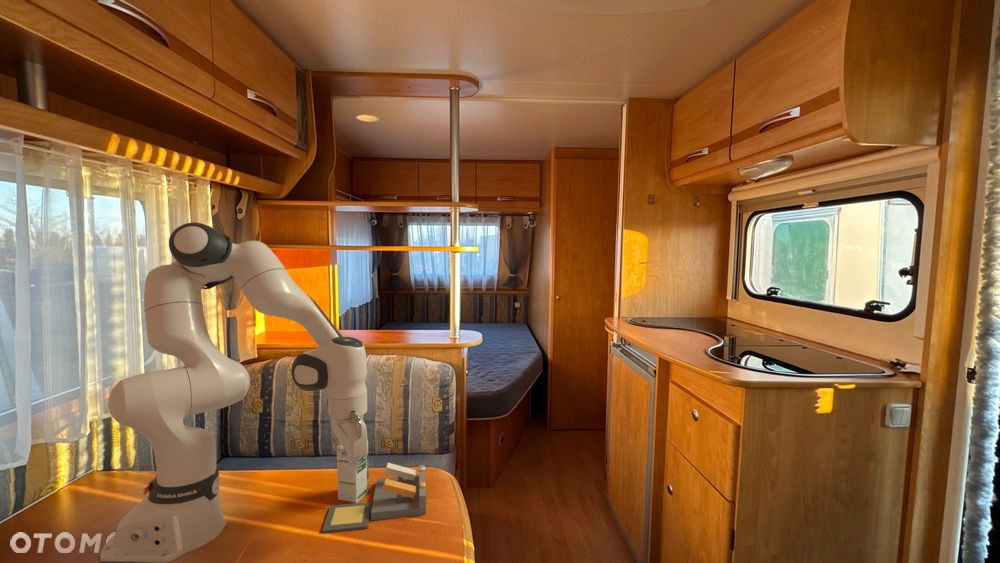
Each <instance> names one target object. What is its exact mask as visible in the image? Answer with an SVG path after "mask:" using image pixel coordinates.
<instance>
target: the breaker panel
mask: <svg viewBox="0 0 1000 563" xmlns="http://www.w3.org/2000/svg"><path fill="white" fill-rule="evenodd" d="M418 470H419V471H418V475H416V476H415V479H414V481H412V480H409V479H405V478H401V477H398V476H393V477H383V478H380V477H379V478H376V482H375V488H374V495H373V499H372V505H371V511H370V521H371V522H372V521H378V520H387V519H388V520H389V519H397V518H407V517H415V516H421V515H422V516H423V515H427V484H426V464H419V465H418ZM385 479H390V480H393V481H397V482H401V483H405V484H409V485H413V486H416V493H415V496H414V498H411V497H407V496H403V495H399V494H395V493H391V492H387V491H383V484H384V482H385Z"/></svg>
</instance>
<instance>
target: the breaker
mask: <svg viewBox="0 0 1000 563" xmlns="http://www.w3.org/2000/svg"><path fill="white" fill-rule="evenodd" d="M384 473H385V474H387V475H391V476H393V477H401V478H405V479H409V480H412V481H414V479H415V476H417V470H416V469H412V468H409V467H405V466H402V465H398V464H394V463H391V462H387V464H386V467H385V472H384Z"/></svg>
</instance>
